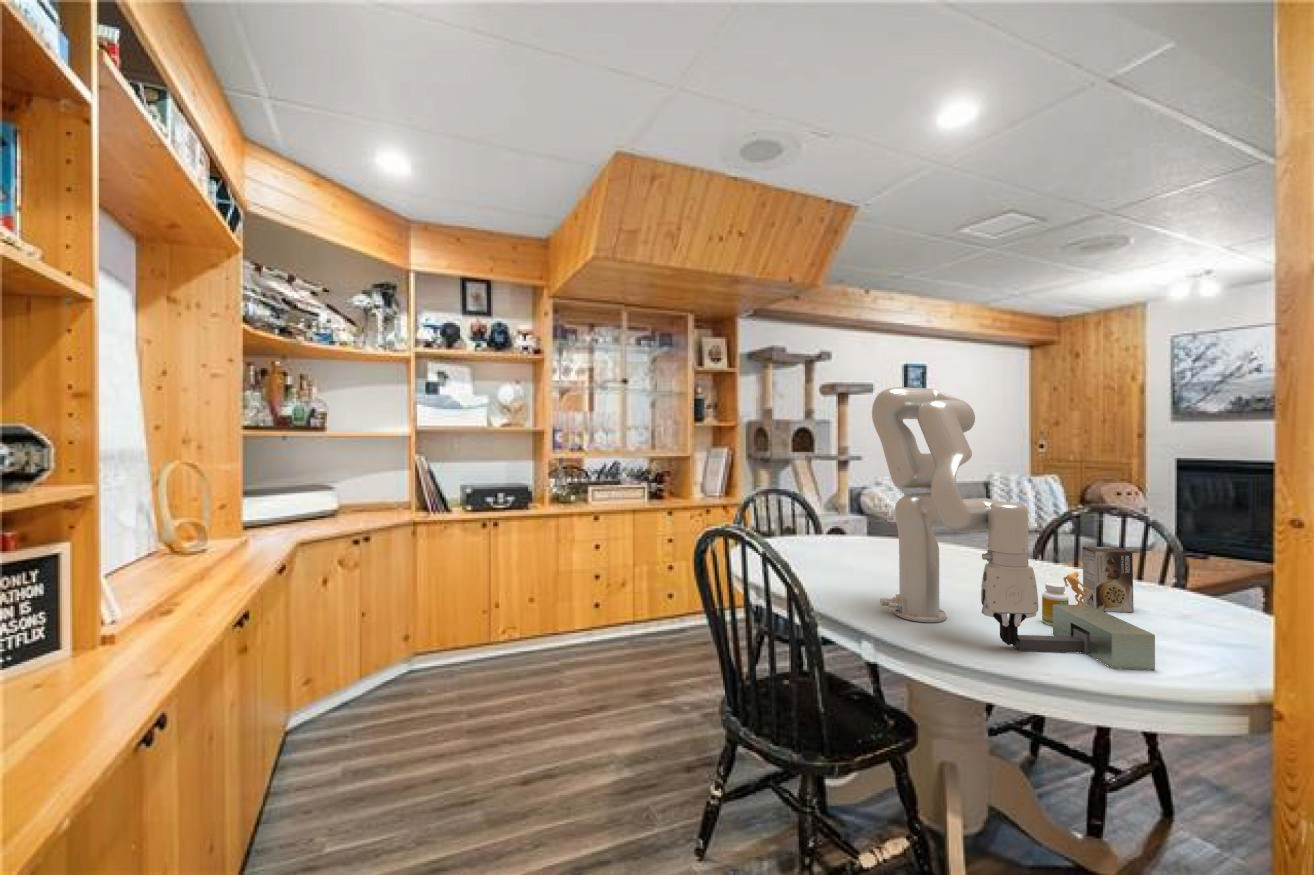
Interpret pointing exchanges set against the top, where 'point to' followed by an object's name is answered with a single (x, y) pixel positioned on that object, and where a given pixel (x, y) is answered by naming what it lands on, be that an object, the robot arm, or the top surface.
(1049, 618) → the supplement bottle
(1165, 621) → the top surface
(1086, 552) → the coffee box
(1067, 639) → the long grey beam
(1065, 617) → the notched grey-green block
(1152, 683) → the top surface
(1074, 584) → the figurine
